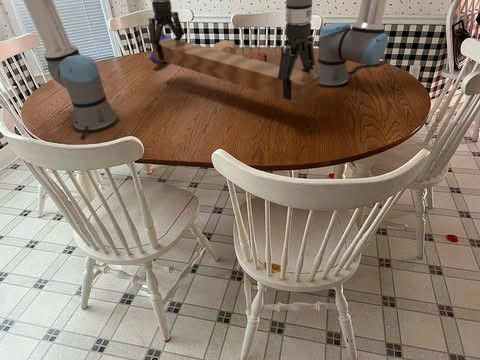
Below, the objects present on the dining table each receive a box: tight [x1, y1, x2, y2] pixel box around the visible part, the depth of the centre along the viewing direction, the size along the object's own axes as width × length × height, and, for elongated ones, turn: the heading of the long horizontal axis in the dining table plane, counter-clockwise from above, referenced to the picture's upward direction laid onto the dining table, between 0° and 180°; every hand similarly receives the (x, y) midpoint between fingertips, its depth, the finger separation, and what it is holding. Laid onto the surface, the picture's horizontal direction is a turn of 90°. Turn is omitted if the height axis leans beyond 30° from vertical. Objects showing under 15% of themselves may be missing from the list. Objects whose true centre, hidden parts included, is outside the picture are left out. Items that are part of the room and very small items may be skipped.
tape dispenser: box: [239, 51, 268, 63], centre depth 171 cm, size 18×5×20 cm
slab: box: [151, 37, 320, 105], centre depth 136 cm, size 78×9×7 cm, turn 48°
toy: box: [148, 31, 172, 69], centre depth 182 cm, size 10×17×25 cm
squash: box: [210, 39, 238, 55], centre depth 185 cm, size 11×20×9 cm, turn 92°
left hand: (170, 56), depth 156 cm, fingers closed on slab, 9 cm apart
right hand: (296, 93), depth 119 cm, fingers closed on slab, 9 cm apart
